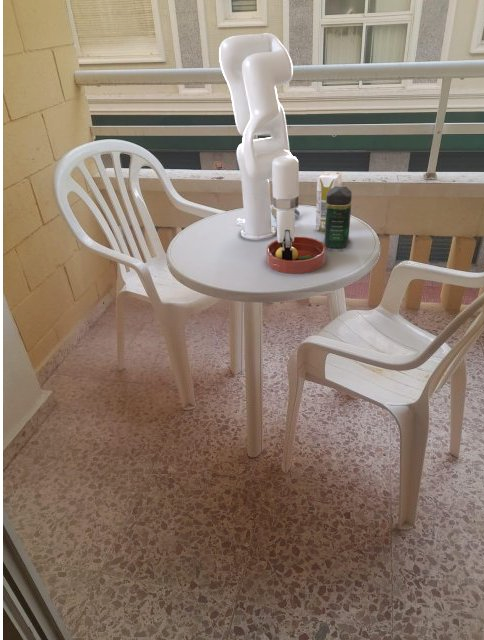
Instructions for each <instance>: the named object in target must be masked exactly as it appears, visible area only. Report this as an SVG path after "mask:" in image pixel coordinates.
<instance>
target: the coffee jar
mask: <svg viewBox="0 0 484 640" xmlns="http://www.w3.org/2000/svg"><path fill="white" fill-rule="evenodd" d="M352 194H353V193H352V190H351V189H349V188H348V187H347V186H342V187H339V186H335V187H334V188H332V189H330V190H329V191H328V193H327V196H326V197H327V198H326V220H325V231H324V242H323V244H324V245H325V247H326V248H327V249H333V250H340V249H346V248H347V246H348V244H349V239H350V238H349V237H350V227H351V226H350V225H351V213H352V198H353V197H352V196H353V195H352Z"/></svg>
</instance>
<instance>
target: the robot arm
mask: <svg viewBox="0 0 484 640" xmlns="http://www.w3.org/2000/svg"><path fill="white" fill-rule="evenodd" d="M218 55H219V56H218V57H219V64H220V69H221V72H222V74H223V76H224V79H225V81H226V83H227V86H228V89H229V92H230V96H231V103H232V109H233V115H234V120H235V126H236V129H237V132H238V134H239V135H241V136H242V141H241V142H242V143H240V144H239V145H238V147H237V149H236V160H237V165H238V169H239V174H240V182H241V193H242V207H243V218H237V219H236V223H235V226H236V227H241V230H240V235H241V237H242V238H244V239H247V240H255V241H256V240H257V241H259V240H265V239H269V238H272V237H274V236H275V235H276V238H277V239H276V240H278V242H279V243H280V242H282V243H281V247H283V250H282V259H283V260H289V261H293V258H292V242H293V241H294V237H295V229H296V227H295V226H296V224H295V223H296V219H295V215H296V213H295V209H297V210H298V208H299V206H300V203H299V201H300V199H299V197H300V196H299V195H300V192H299V191H300V190H299V187H300V183H299V181H300V178H299V177H300V176H299V175H300V174H299V173H300V171H299V169H300V168H299V167H300V164H299V163H300V162H299V160H298V159H297V157H296V156H293V154H292V153H291V152H290V151H291V150H290V142H289V134H288V128H287V119H286V114H285V111H284V108H283V105H282V104H281V103H280V101H279V98H278V93H277V88H276V87H277V86H282V85H288V84H289V83H290V82H291V80H292V78H293V74H294V68H293V61H292V58H291V56H290V54H289V52H288V50H287V48H286V47H285V46H284V45H283V43H282V42H281V41H280V40H279V38H278V37H277V36H276V35H275V34H273V33H269V32H268V33H266V32H265V33H253V34H240V35H232V36H229V37H227V38H225V39H223V40H222V41H221V43H220V45H219V51H218ZM266 134H269V136H270V137H265V138H257V139H255V136H260V135H266ZM269 180H271V185H272V188H271V185H270V181H269ZM271 189H272V204H271ZM271 205H273V208H274V209H275V210H277V211H276V218H275V220H276V227H275V226H274V225H272V212H271V208H272V206H271Z"/></svg>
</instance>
